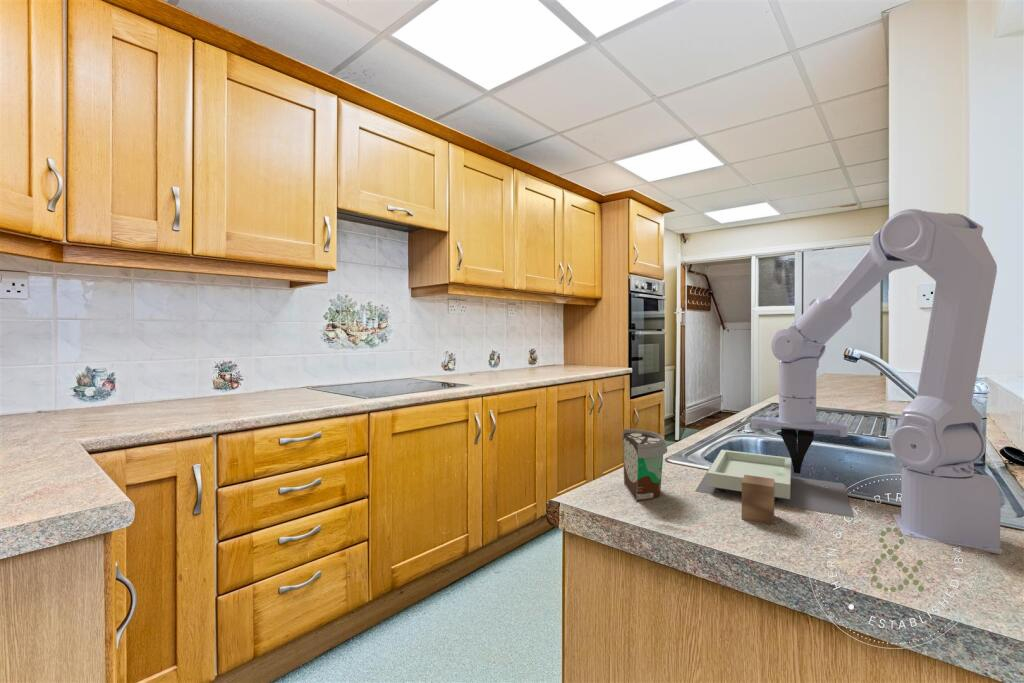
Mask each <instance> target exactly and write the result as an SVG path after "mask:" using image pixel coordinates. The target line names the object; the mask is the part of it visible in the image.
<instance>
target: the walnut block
mask: <svg viewBox="0 0 1024 683" xmlns="http://www.w3.org/2000/svg"><path fill="white" fill-rule="evenodd" d="M741 520H743V521H749V522H754V523H759V524H765V525H770V526H773V525H774V520H775V505H774V479H772V478H765V477H758V476H751V475H744V477H743V480H742V499H741Z"/></svg>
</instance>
